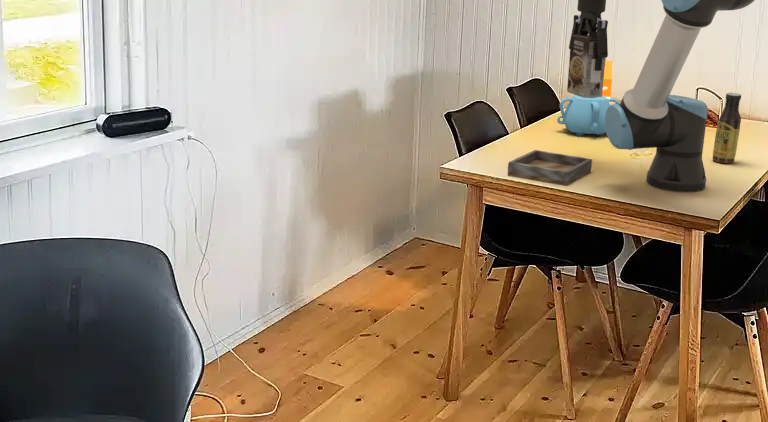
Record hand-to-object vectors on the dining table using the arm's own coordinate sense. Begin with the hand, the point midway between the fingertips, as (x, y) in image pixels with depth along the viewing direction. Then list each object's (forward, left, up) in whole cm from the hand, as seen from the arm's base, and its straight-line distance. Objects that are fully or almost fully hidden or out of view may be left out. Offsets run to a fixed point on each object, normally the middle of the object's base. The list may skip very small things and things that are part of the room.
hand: (585, 79), depth 278 cm
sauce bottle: (-13, -40, -24) cm, 48 cm away
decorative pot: (+30, -21, -24) cm, 44 cm away
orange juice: (+47, -34, -24) cm, 63 cm away
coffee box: (0, 0, -4) cm, 4 cm away
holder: (-10, +15, -23) cm, 29 cm away
